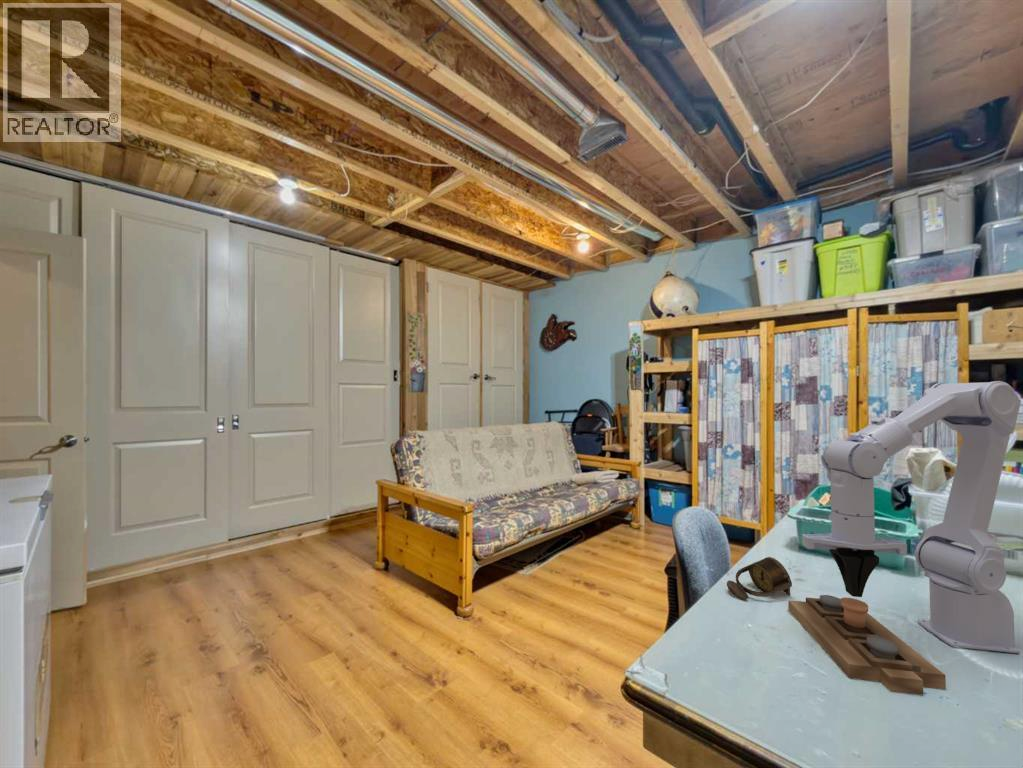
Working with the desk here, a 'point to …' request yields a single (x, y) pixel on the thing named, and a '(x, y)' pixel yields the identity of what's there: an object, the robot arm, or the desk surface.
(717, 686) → the desk surface
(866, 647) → the walnut test board
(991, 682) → the desk surface
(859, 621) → the terracotta plug
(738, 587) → the brown watering can
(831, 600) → the grey plug far
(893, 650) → the grey plug near
